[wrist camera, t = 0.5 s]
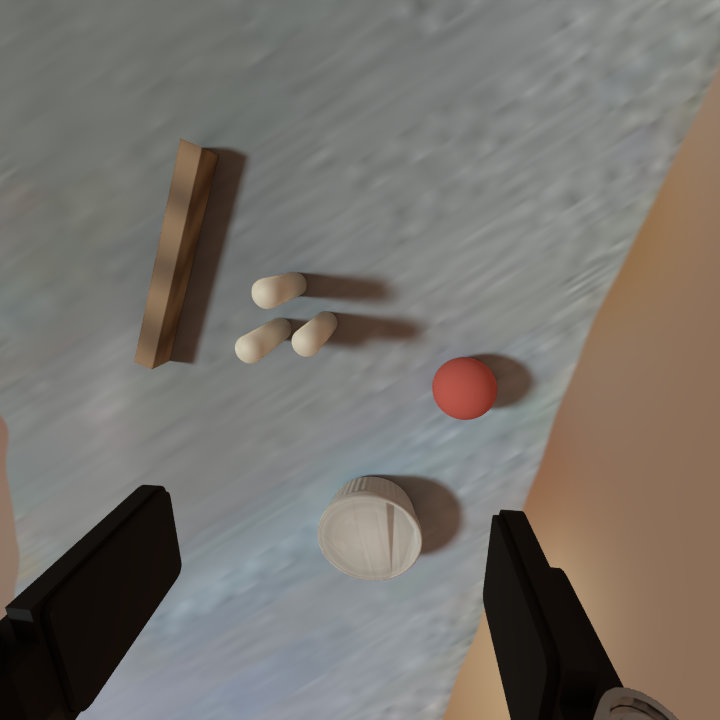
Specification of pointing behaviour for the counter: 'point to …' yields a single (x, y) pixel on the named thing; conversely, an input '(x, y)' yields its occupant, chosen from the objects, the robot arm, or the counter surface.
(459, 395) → the ball
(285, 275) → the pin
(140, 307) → the counter surface
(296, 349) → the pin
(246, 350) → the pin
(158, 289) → the walnut rail
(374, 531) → the ramekin
